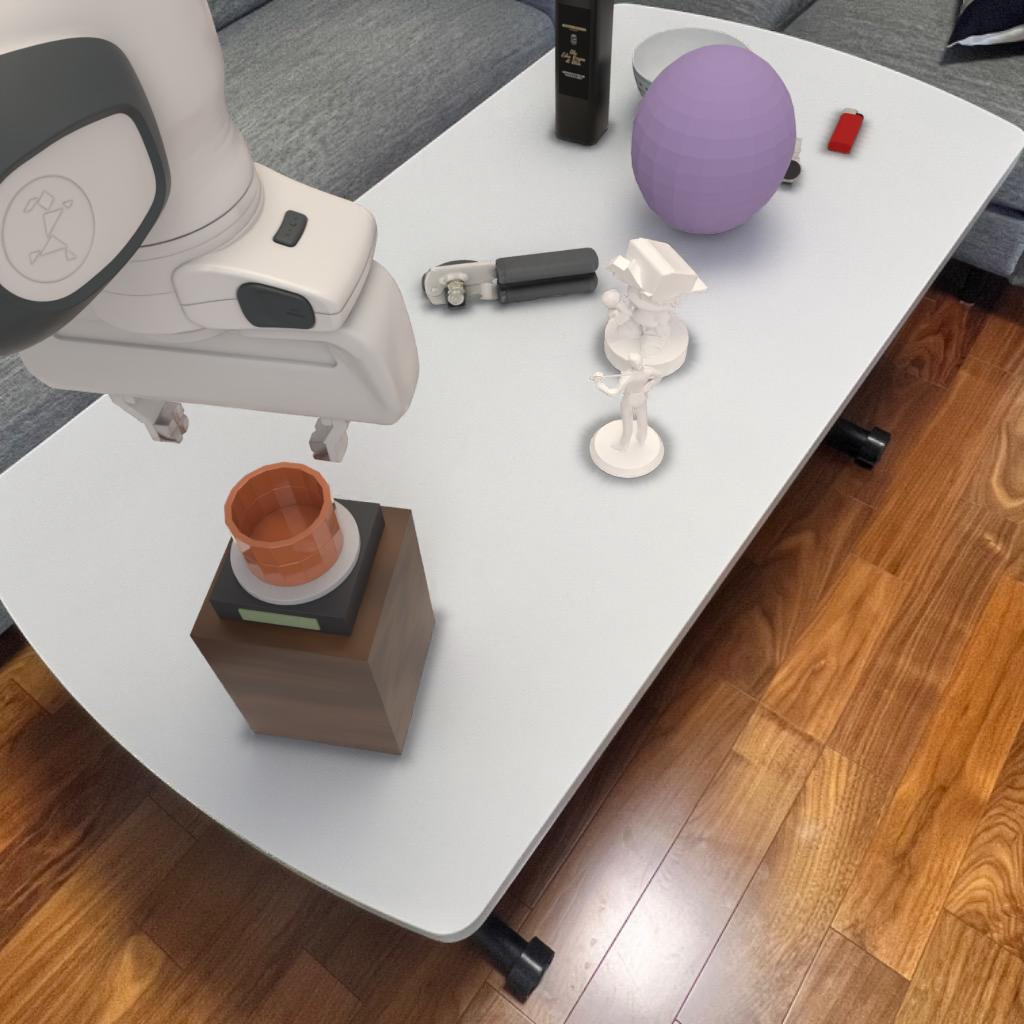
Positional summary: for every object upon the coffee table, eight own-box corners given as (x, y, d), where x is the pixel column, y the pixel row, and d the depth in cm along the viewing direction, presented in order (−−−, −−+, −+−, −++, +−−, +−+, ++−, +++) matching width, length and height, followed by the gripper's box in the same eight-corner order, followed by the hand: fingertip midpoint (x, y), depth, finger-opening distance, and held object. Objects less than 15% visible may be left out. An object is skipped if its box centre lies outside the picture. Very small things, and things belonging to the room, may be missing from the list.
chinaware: (621, 88, 126) (624, 31, 120) (732, 81, 126) (741, 23, 120) (636, 153, 117) (641, 95, 111) (755, 145, 117) (767, 86, 111)
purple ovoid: (681, 162, 116) (701, -5, 99) (803, 215, 109) (846, 44, 92) (595, 231, 108) (602, 63, 92) (721, 293, 101) (751, 122, 85)
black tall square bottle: (592, 148, 118) (601, -121, 94) (552, 138, 120) (550, -130, 95) (611, 125, 121) (624, -143, 97) (571, 115, 123) (574, -150, 98)
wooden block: (401, 755, 72) (367, 660, 59) (253, 732, 74) (189, 635, 61) (435, 620, 79) (411, 509, 66) (299, 602, 80) (250, 489, 67)
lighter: (828, 140, 115) (844, 106, 119) (826, 149, 116) (841, 115, 120) (851, 145, 114) (866, 110, 118) (849, 154, 115) (863, 120, 119)
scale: (350, 638, 60) (341, 615, 58) (218, 620, 61) (204, 596, 59) (385, 523, 65) (378, 498, 63) (263, 508, 66) (252, 482, 64)
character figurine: (589, 336, 98) (592, 242, 88) (666, 306, 100) (678, 212, 91) (631, 390, 93) (639, 297, 84) (711, 357, 96) (729, 263, 86)
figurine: (642, 411, 92) (652, 319, 82) (677, 462, 88) (692, 372, 78) (576, 434, 90) (578, 343, 81) (609, 487, 86) (615, 399, 77)
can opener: (423, 317, 101) (418, 280, 97) (422, 278, 105) (417, 241, 101) (600, 302, 101) (602, 265, 97) (592, 264, 105) (594, 226, 101)
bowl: (327, 593, 59) (312, 553, 55) (230, 580, 59) (208, 540, 56) (355, 510, 62) (342, 468, 59) (263, 499, 63) (244, 456, 60)
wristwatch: (773, 188, 112) (781, 151, 108) (778, 164, 114) (786, 127, 110) (798, 192, 111) (807, 154, 107) (802, 167, 114) (811, 130, 110)
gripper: (-80, 265, 41) (55, 465, 52) (372, 307, 38) (412, 509, 49) (-9, 180, 44) (103, 384, 56) (408, 213, 42) (438, 420, 53)
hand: (251, 443), depth 52 cm, fingers open, 8 cm apart
